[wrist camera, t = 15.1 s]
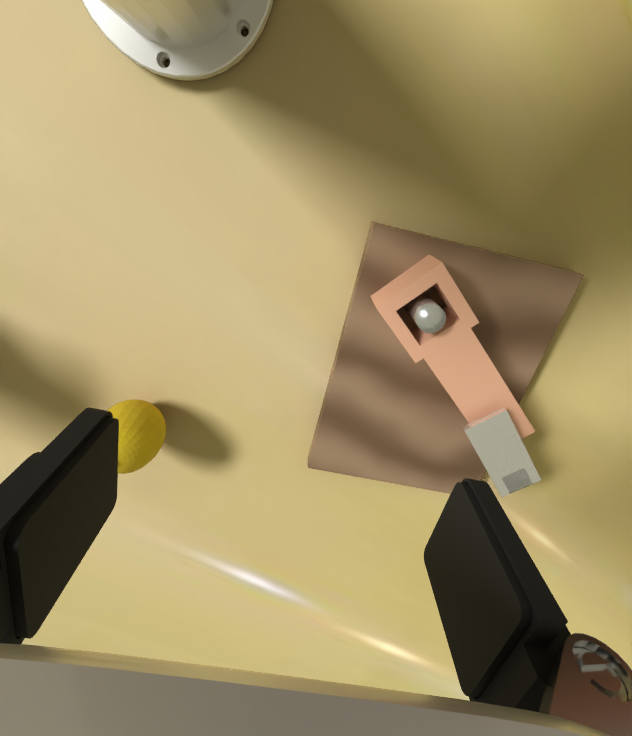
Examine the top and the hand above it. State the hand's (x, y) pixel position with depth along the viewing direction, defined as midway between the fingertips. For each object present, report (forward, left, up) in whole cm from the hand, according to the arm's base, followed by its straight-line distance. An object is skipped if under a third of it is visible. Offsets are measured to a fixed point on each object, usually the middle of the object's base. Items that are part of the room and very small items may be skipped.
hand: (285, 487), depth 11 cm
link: (+3, +14, -23) cm, 27 cm away
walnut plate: (+6, +13, -24) cm, 28 cm away
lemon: (+15, -12, -24) cm, 31 cm away
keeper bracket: (+9, +19, -24) cm, 32 cm away
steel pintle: (-1, +9, -23) cm, 25 cm away
